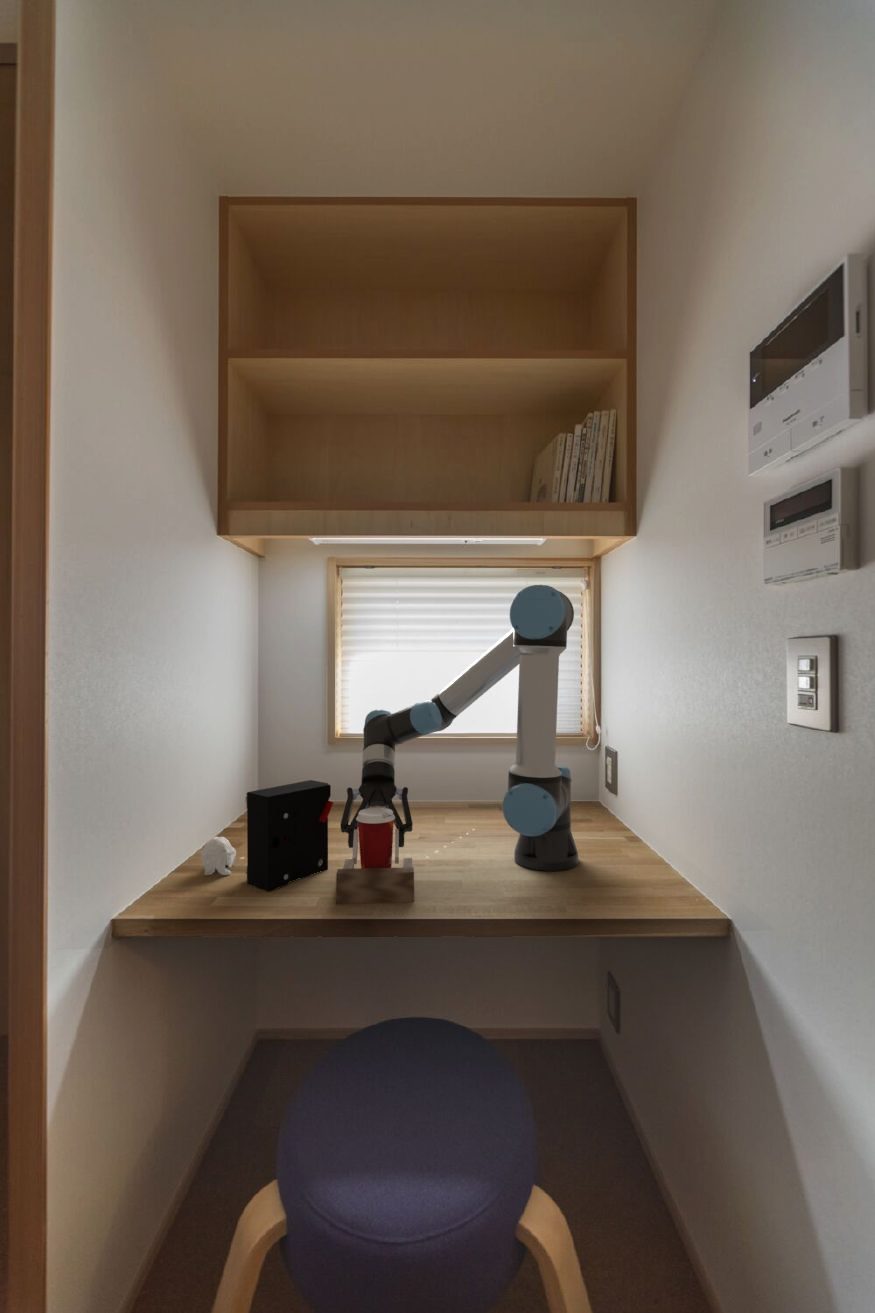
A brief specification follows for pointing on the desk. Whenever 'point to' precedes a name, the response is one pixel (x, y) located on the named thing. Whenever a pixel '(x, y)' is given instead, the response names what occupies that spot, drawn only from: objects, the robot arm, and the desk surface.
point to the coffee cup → (375, 837)
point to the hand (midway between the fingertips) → (375, 860)
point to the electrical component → (287, 833)
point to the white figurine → (218, 856)
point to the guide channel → (375, 884)
